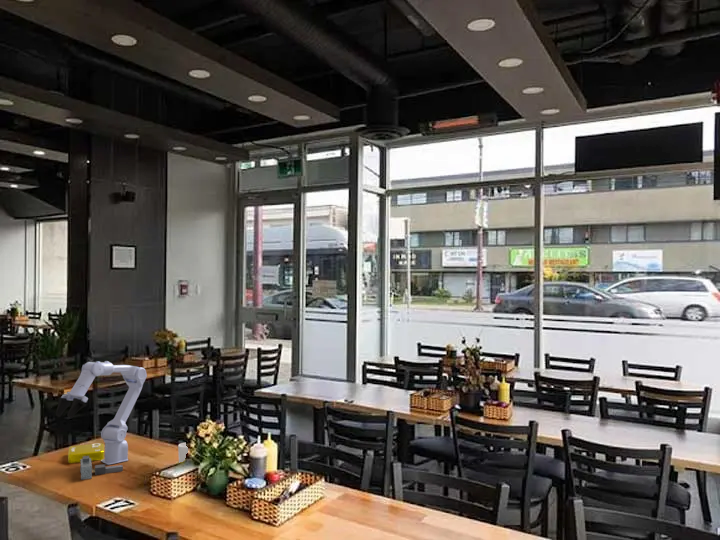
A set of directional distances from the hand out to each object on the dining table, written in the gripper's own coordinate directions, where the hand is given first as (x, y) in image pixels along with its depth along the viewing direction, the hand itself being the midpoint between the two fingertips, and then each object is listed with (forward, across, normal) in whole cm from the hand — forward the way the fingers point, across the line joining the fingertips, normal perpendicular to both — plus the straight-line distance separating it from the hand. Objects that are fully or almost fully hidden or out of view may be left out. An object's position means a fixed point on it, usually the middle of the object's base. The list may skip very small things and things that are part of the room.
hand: (63, 416), depth 243 cm
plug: (+11, +6, +29) cm, 32 cm away
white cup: (-2, +30, +48) cm, 57 cm away
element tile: (+4, -20, +36) cm, 41 cm away
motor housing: (+15, +1, +24) cm, 28 cm away
